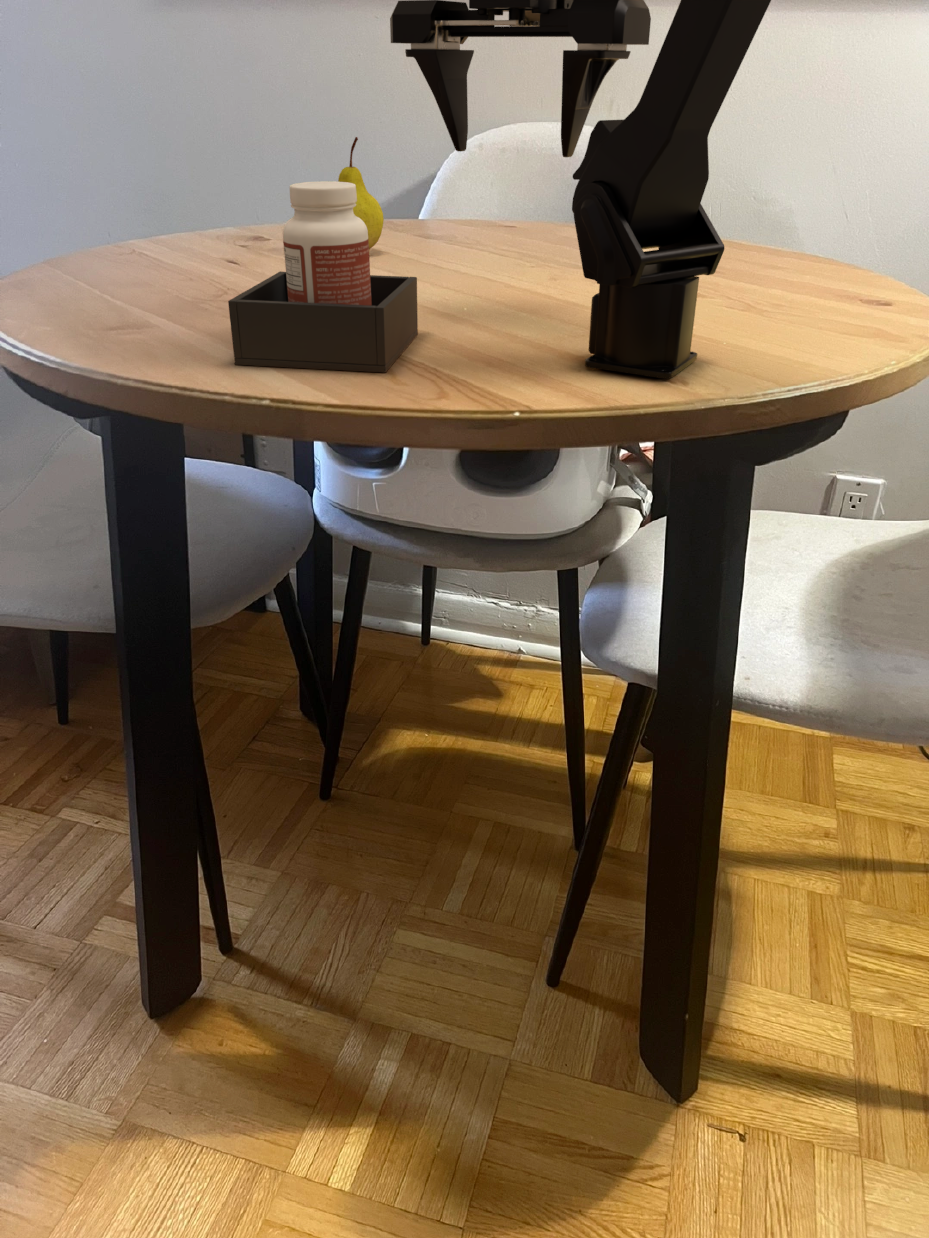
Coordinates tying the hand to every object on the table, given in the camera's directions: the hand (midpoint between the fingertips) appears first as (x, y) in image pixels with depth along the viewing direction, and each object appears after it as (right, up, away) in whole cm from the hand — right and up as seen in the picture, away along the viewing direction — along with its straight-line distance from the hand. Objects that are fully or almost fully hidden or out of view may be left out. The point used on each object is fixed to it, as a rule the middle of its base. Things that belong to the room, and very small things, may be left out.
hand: (512, 154), depth 76 cm
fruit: (-16, +6, +36) cm, 40 cm away
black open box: (-14, -15, -1) cm, 21 cm away
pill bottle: (-14, -15, -1) cm, 20 cm away
